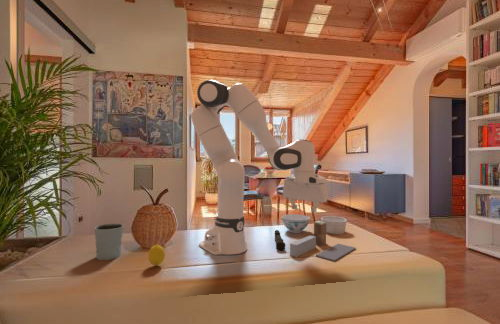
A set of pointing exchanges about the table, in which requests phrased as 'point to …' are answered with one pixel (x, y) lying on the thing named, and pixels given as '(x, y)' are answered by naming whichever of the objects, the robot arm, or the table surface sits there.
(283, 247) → the hand tool
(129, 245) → the table surface
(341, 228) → the ramekin
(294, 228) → the chinaware
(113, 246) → the blue-grey cup
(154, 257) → the lemon
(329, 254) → the tool mat
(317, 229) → the walnut block
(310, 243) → the bar
